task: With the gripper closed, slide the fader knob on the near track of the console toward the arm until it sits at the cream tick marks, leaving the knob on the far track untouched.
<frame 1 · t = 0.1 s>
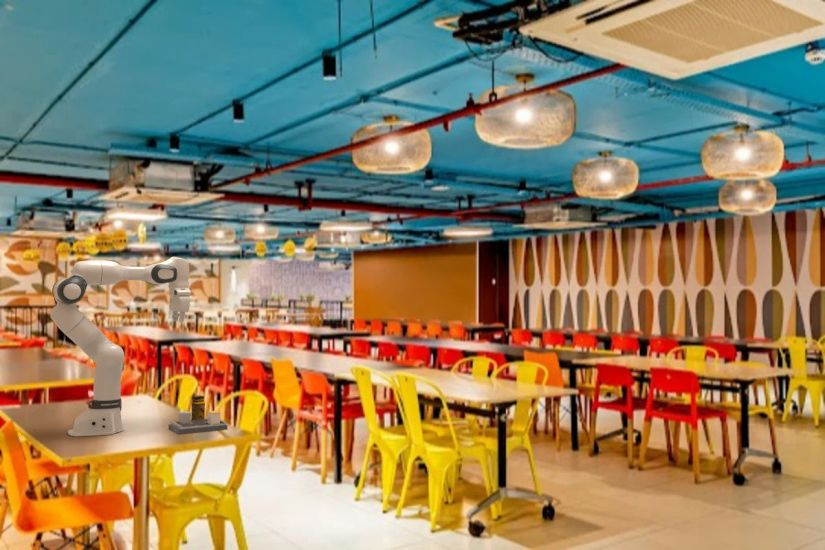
hand: (178, 321, 343), 48 cm above the table, fingers open, 8 cm apart
fader far: (184, 417, 333), point 5 cm above the table, slide at 0.0 cm
condiment: (196, 421, 351), on the table
fader near: (214, 417, 333), point 5 cm above the table, slide at 0.0 cm
console: (198, 428, 332), on the table
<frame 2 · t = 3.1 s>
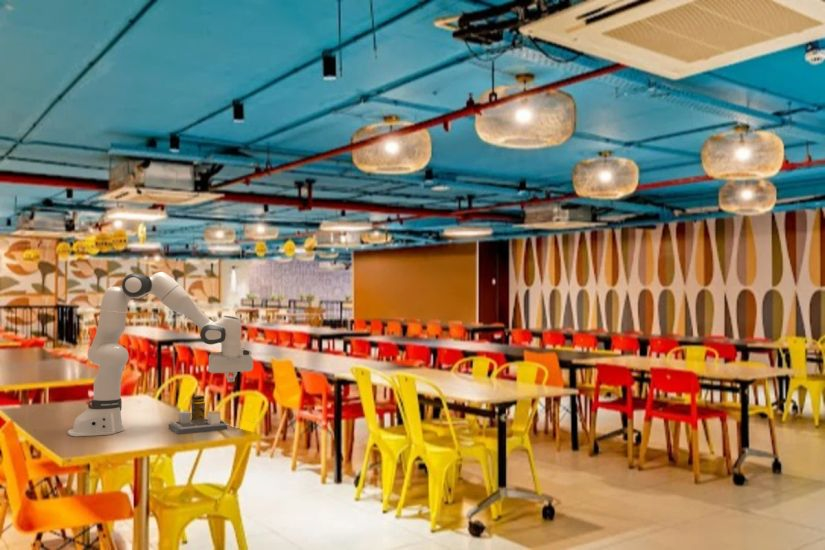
hand: (230, 381, 337), 21 cm above the table, fingers closed
nothing on the table moved.
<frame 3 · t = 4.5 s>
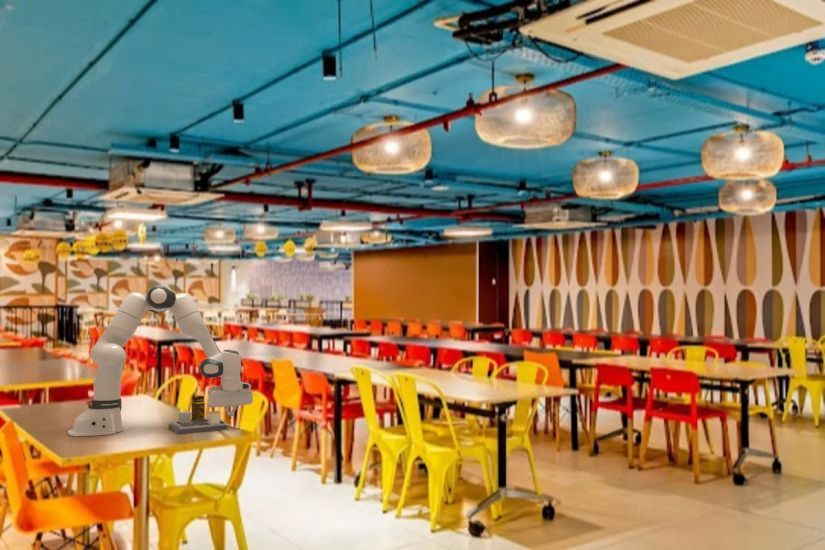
hand: (230, 415, 337), 5 cm above the table, fingers closed
nothing on the table moved.
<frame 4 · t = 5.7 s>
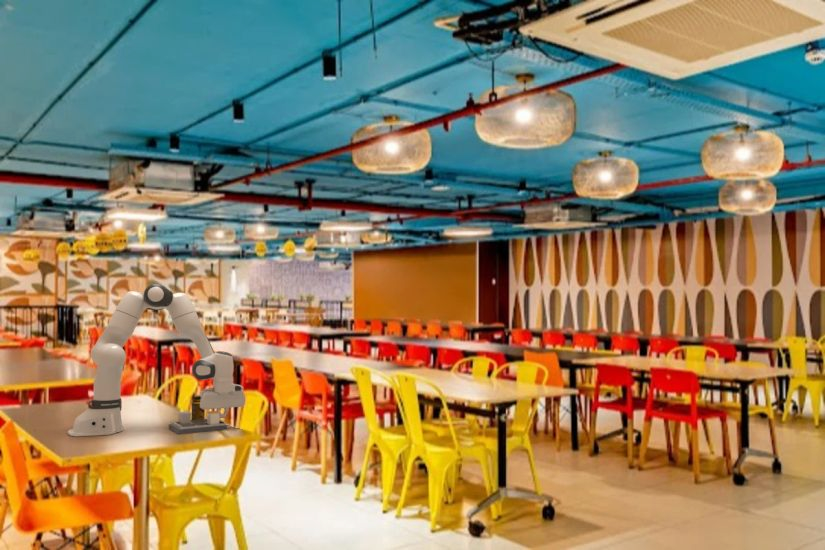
hand: (222, 417, 335), 5 cm above the table, fingers closed
fader near: (213, 417, 332), point 5 cm above the table, slide at 0.3 cm, touching gripper
everything else where it was.
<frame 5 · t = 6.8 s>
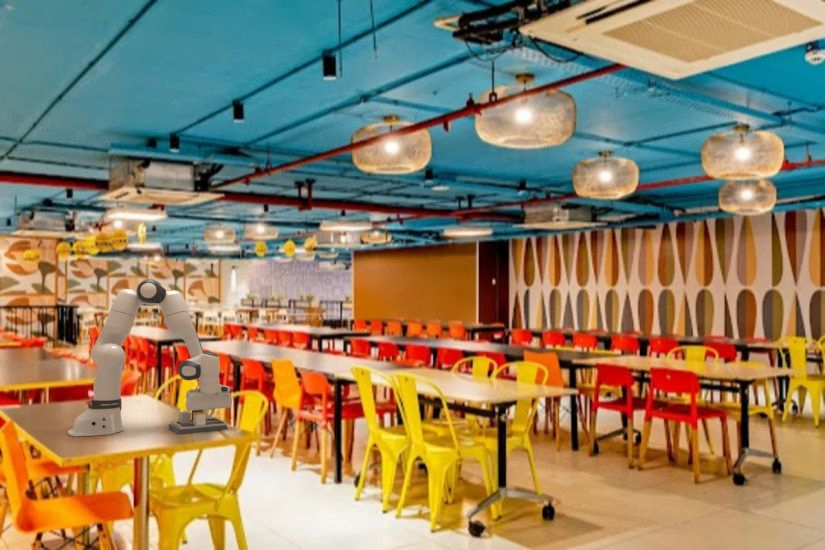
hand: (208, 419, 331), 5 cm above the table, fingers closed
fader near: (199, 419, 329), point 5 cm above the table, slide at 6.7 cm, touching gripper
everything else where it was.
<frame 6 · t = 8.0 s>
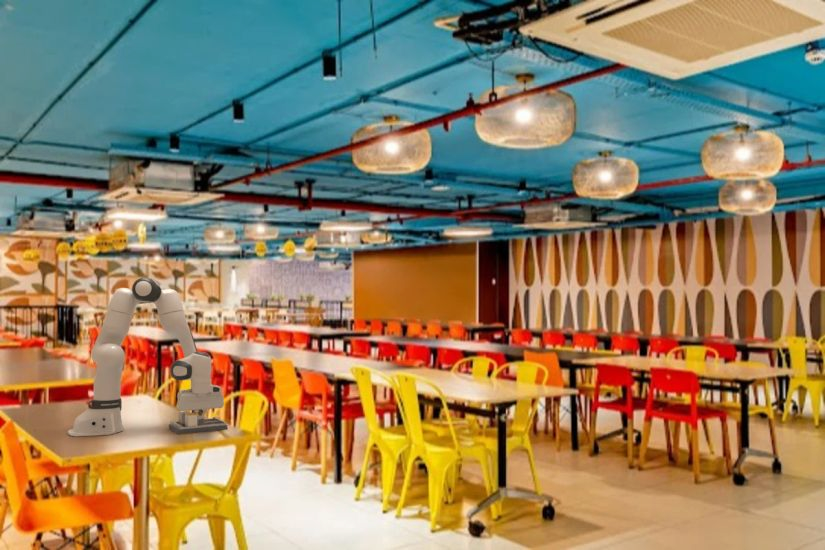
hand: (200, 419, 329), 5 cm above the table, fingers closed
fader near: (191, 419, 327), point 5 cm above the table, slide at 10.3 cm, touching gripper
everything else where it was.
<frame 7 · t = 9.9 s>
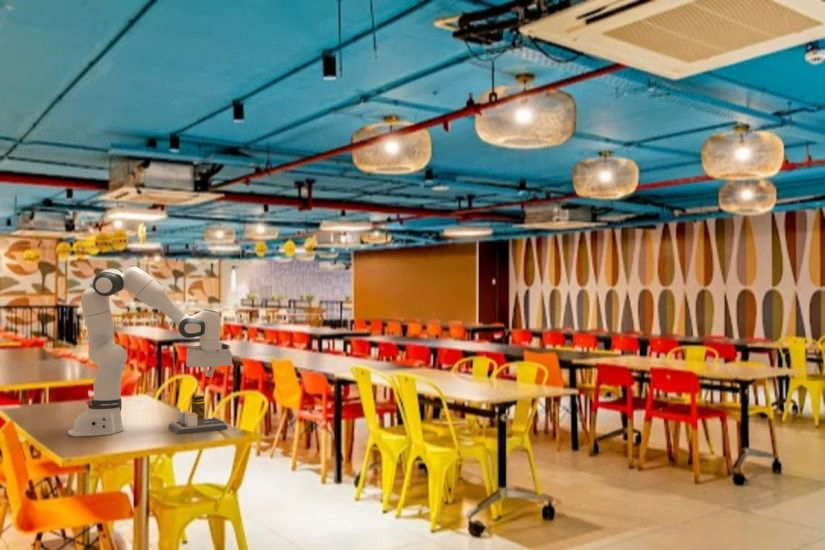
hand: (208, 376, 332), 24 cm above the table, fingers closed
fader near: (191, 419, 327), point 5 cm above the table, slide at 10.3 cm
everything else where it was.
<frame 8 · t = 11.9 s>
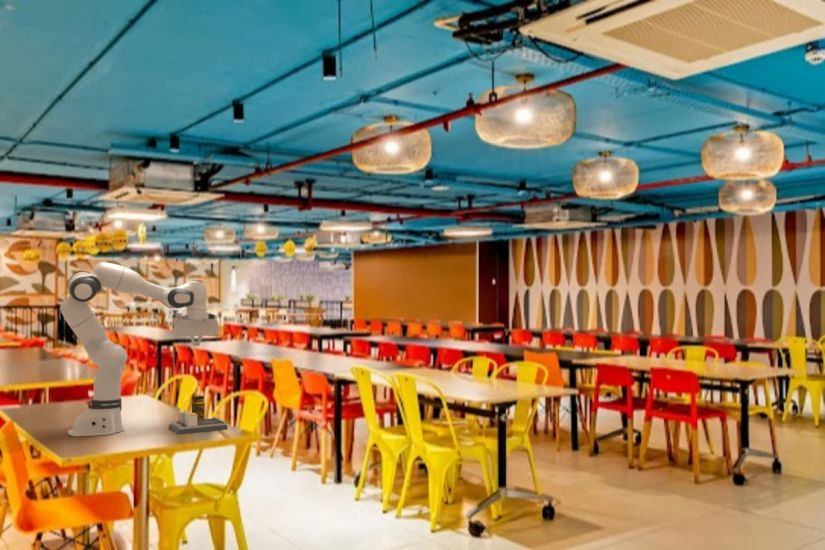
hand: (196, 345, 337), 37 cm above the table, fingers closed
nothing on the table moved.
at the end: fader near slide at 10.3 cm; fader far moved 0.0 cm from its start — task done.
